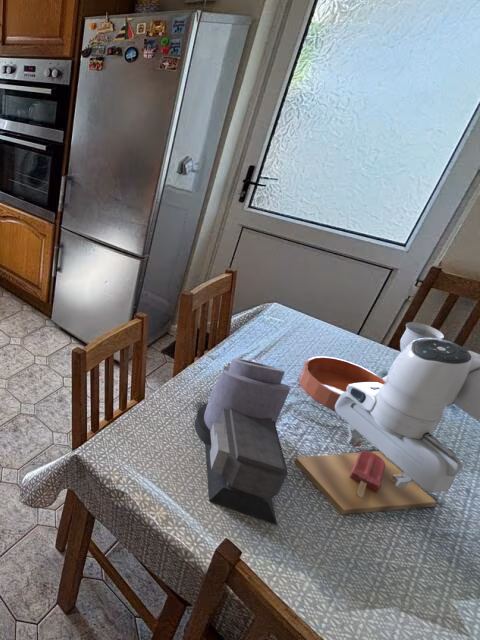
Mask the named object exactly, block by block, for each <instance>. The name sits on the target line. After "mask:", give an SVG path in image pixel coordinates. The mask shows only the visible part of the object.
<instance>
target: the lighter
mask: <svg viewBox="0 0 480 640" xmlns="http://www.w3.org/2000/svg"><path fill="white" fill-rule="evenodd" d="M250 361H252V362H257V361H256V360H255V359H251V360H250ZM231 362H232V361H229V362H226V361H225V362H223V365H222V369H221V372H220V374H221V373H222V372H223V371H224V370H227V371H229V368H230V365H231Z"/></svg>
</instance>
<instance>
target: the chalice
mask: <svg viewBox="0 0 480 640" xmlns="http://www.w3.org/2000/svg"><path fill="white" fill-rule="evenodd" d="M420 338H437V339H444V334H443V333H442V332H441V331H440V330H439V329H436V328H434V327H432V326H430V325H427V324H424V323H420V322H415V321H408V322H406V323H405V331H404V332H403V334H402V336H401V338H400V340H399V348H400V353H401V352H402V350H403V349H404V348H405V347H406V346H407V345H408V344H410V343H411V342H412V341H414V340H416V339H420ZM381 379H383V380H384V381H385V382H387V375H385V376H384V377H381Z"/></svg>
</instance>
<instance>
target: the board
mask: <svg viewBox="0 0 480 640" xmlns="http://www.w3.org/2000/svg"><path fill="white" fill-rule="evenodd" d="M371 452H372V453H374V454H376V455H378V456H379V457H380V458H382V459H383V460H384V462H385V469H384V474H383V478H382V482H381V487H380V488H379V490H378V492H376V491H374V490H372V489H370V488H368V487H366V489H365V492H364V495H363V497H362V498H361V497H358V496H357V491H358V488H359V485H360V483H359V482H357V481H355V480H353V479H352V478H350V477H349V476H350V473H351V471H352V469H353V466H354V464H355V462H356V460H357V457H358V455H359V454H360V452H351V453H350V452H348V453H336V454H323V455H310V456H296V457H295V459H294V460H293V463H294V464H295V465H296V467H298V468H299V470H300V471H301V472H302V473H303V474H304V475H305V476H306V477H307V478H308V480H309V481H310V482H311V483H312V484H313V485H314V486H315V487H316V488H317V490H318V491H319V492H320V493H321V494H322V495H323V496H324V498H325V499H327V501H328V502H329V503H330V504H331V505H332V506H333V507H334V509H335V510H336V511H337V512H338V513H339V514H340V515H350V514H352V515H353V514H362V513H363V514H364V513H374V512H376V513H377V512H385V511H398V510H399V511H401V510H407V509H408V510H410V509H421V508H432V507H435V505H436V504H437V501H436V500H435V499H434V497H432V496H431V495H429V493H428V492H427V491H425V490H424V489H423V488H422V487H420V486H419V485H418V484H417V483H416V482H415V481H413V482H409V483H408V484H407V486H406V487H403V488H398V487H397V486H396V485H395V484H394V483H393V482H391V479H392V477H393V475H403V473H404V472H403V471H402V470H401V469H400V468H399V467H398V466H396V465H395V464H394V463H393V462H392V461H391V460H390V459H388V458H387V457H386V456H385V455H384V454H383V453H382V452H381V451H379V450H375V451H371ZM405 478H406V477H405Z"/></svg>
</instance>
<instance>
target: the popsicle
mask: <svg viewBox="0 0 480 640" xmlns="http://www.w3.org/2000/svg"><path fill="white" fill-rule="evenodd" d="M372 452H373V451H368V450H361V451H359V453H360V454H359V455H358V457H357V460H356V462H355V464H354V466H353V469H352V471H351V473H350V476H349V477H350V478H352V479H353V480H355V481H357V482H359V483H360V485H359V488H358V491H357V496H358V497H361V498H362V497H363V495H364V492H365V489H366V487H368V488H370V489H372V490H374V491H376V492H378V490H379V488H380V487H381V482H382V478H383V474H384V469H385V462H384V460H383V459H382V458H380V457H379V456H378V455H376V454H374V453H372Z"/></svg>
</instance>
